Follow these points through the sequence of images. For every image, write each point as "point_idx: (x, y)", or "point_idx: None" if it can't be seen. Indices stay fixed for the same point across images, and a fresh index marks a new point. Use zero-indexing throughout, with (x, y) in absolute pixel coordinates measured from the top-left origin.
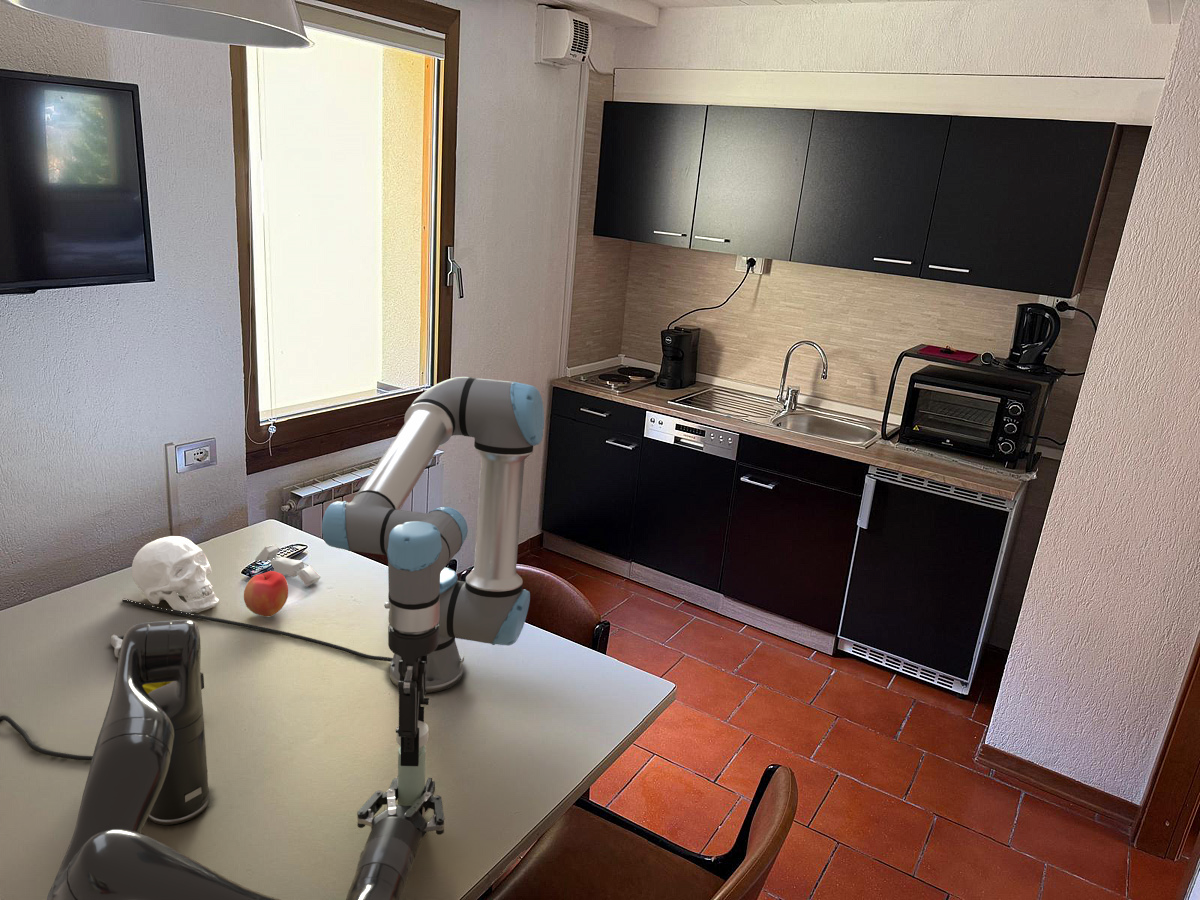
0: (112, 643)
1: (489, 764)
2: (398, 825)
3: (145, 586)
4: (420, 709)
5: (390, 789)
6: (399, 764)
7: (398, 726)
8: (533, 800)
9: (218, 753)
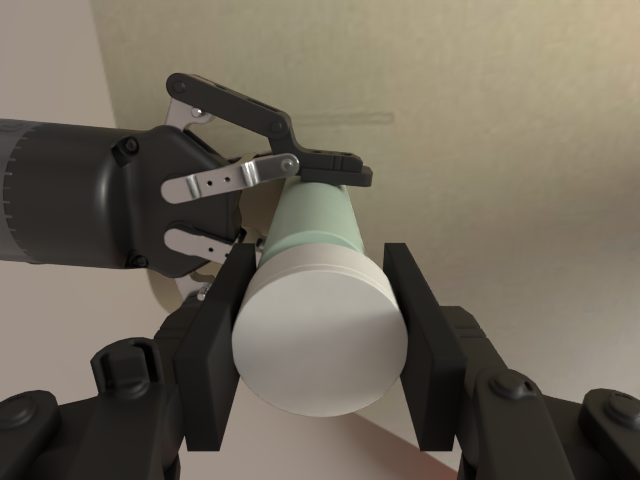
0: None
1: (507, 324)
2: (63, 237)
3: None
4: (421, 435)
5: (291, 163)
6: (283, 222)
7: (343, 274)
8: (390, 400)
9: None
